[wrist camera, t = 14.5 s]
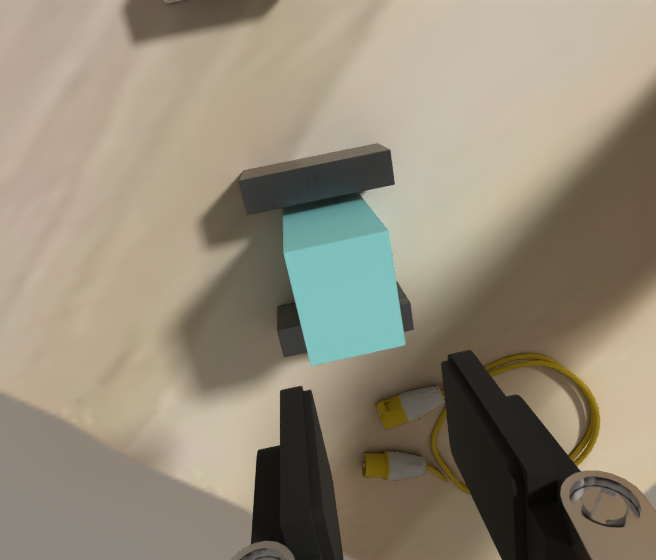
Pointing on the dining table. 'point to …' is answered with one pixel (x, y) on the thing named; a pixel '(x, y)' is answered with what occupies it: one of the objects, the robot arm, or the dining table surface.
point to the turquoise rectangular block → (342, 278)
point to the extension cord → (429, 398)
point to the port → (310, 185)
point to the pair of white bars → (170, 0)
